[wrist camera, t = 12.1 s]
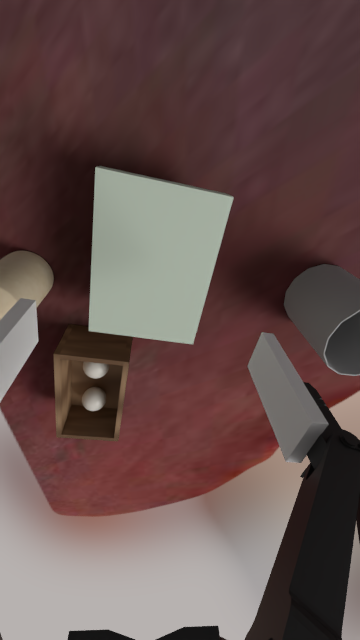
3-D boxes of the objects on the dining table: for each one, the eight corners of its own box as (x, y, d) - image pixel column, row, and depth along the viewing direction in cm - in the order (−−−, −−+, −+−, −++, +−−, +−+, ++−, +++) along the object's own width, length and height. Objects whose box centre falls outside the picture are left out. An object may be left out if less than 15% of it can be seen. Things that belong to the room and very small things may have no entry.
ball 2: (85, 380, 38) (79, 398, 36) (108, 383, 39) (104, 400, 36) (84, 397, 40) (79, 415, 37) (107, 399, 41) (103, 417, 38)
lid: (100, 165, 23) (95, 167, 21) (228, 193, 24) (233, 197, 23) (92, 320, 30) (88, 331, 28) (191, 333, 32) (192, 344, 30)
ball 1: (86, 346, 36) (80, 362, 33) (111, 349, 36) (108, 365, 33) (85, 365, 37) (79, 382, 34) (110, 368, 38) (106, 385, 35)
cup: (274, 319, 36) (309, 371, 28) (298, 259, 32) (348, 298, 24) (332, 326, 38) (383, 378, 29) (363, 269, 34) (432, 310, 25)
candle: (44, 246, 30) (-3, 285, 21) (61, 292, 33) (26, 343, 24) (-8, 253, 30) (-74, 294, 21) (14, 299, 33) (-36, 351, 24)
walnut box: (68, 324, 35) (53, 353, 30) (133, 332, 36) (129, 362, 31) (69, 402, 42) (56, 437, 37) (123, 406, 43) (118, 441, 38)
